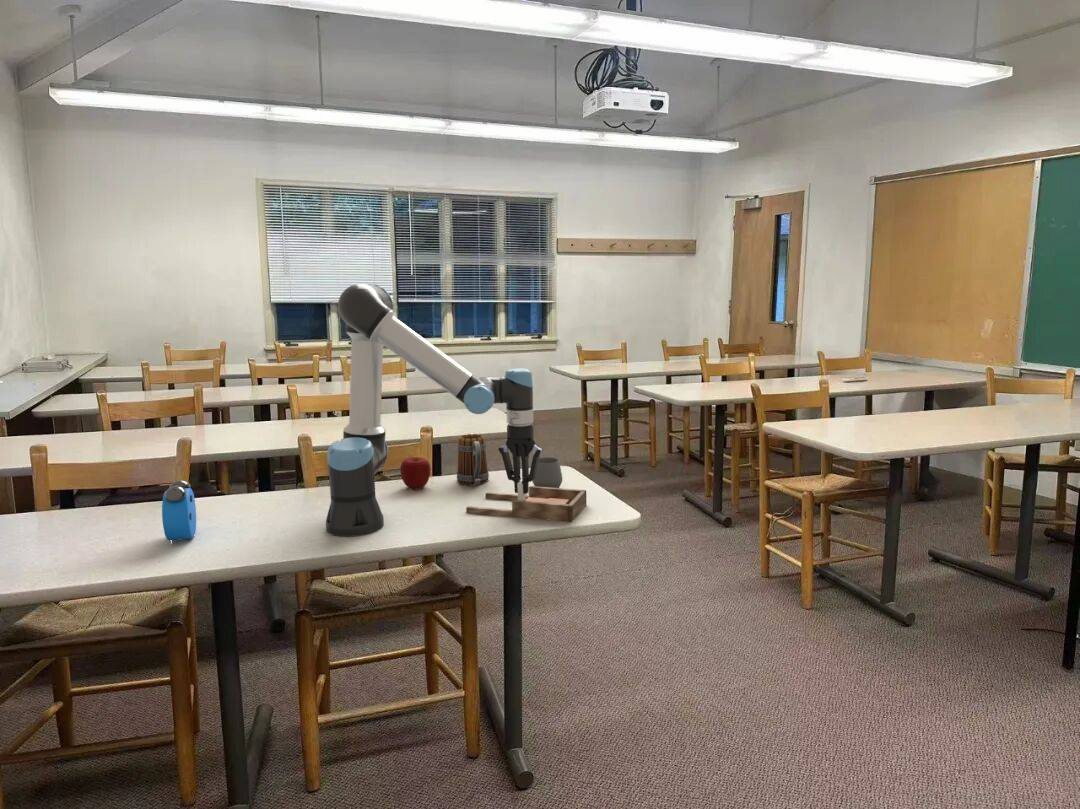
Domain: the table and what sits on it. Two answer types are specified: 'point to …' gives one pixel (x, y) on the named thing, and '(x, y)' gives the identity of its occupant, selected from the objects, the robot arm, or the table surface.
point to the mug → (472, 460)
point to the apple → (415, 472)
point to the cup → (548, 473)
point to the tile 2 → (557, 501)
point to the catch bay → (539, 504)
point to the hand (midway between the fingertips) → (521, 503)
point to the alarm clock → (179, 511)
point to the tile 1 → (536, 499)
